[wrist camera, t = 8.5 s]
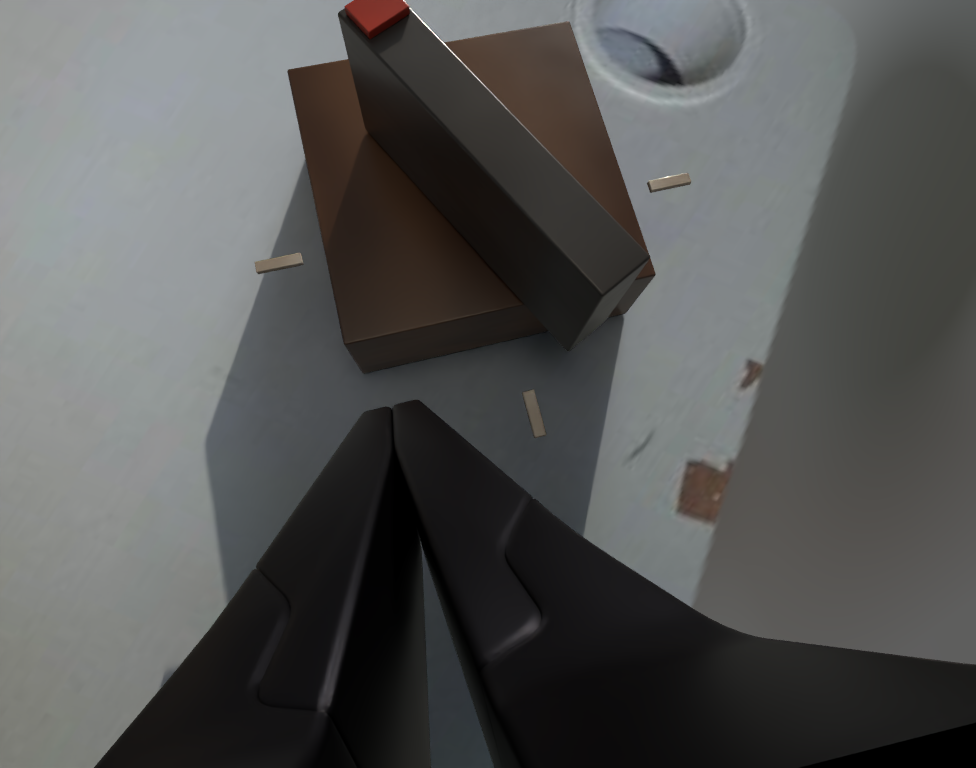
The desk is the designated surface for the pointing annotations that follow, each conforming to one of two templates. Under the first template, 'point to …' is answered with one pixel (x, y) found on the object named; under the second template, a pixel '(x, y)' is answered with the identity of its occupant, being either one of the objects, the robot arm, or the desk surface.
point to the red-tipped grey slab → (487, 172)
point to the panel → (422, 227)
